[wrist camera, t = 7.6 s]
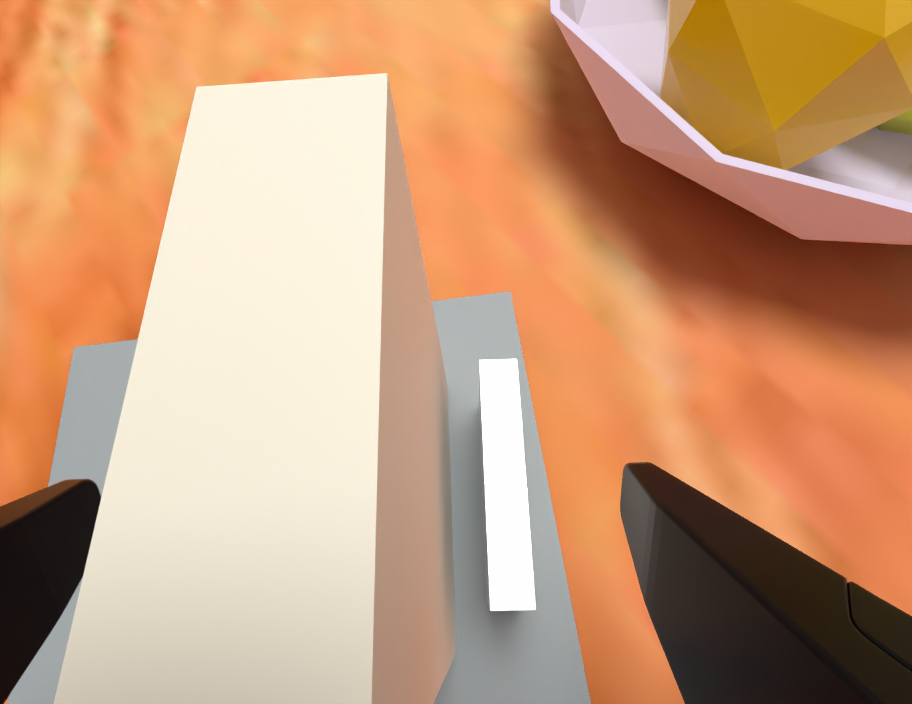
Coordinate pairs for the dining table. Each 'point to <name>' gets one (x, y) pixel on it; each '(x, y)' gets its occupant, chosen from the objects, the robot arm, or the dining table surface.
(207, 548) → the cream rectangular block
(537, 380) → the dining table surface
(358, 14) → the dining table surface
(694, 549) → the robot arm
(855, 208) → the fruit bowl
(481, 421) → the hinge clip
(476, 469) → the board
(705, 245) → the dining table surface
